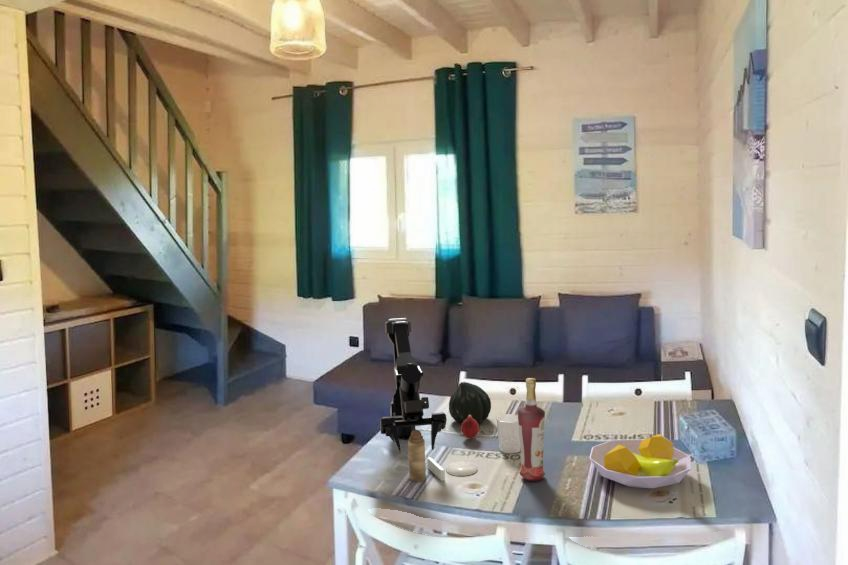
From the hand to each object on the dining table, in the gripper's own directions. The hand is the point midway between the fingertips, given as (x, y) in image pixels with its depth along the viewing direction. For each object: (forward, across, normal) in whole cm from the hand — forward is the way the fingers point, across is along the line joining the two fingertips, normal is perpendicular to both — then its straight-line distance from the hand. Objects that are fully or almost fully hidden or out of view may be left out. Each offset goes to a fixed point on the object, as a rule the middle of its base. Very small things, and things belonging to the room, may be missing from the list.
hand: (416, 451), depth 181 cm
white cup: (-5, +31, +16) cm, 35 cm away
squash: (-25, +24, +36) cm, 50 cm away
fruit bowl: (+15, +59, -3) cm, 61 cm away
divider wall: (+4, +6, +7) cm, 10 cm away
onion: (-13, +20, +24) cm, 34 cm away
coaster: (+3, +13, +8) cm, 16 cm away
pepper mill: (+6, 0, +6) cm, 8 cm away
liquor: (+10, +31, +1) cm, 33 cm away
